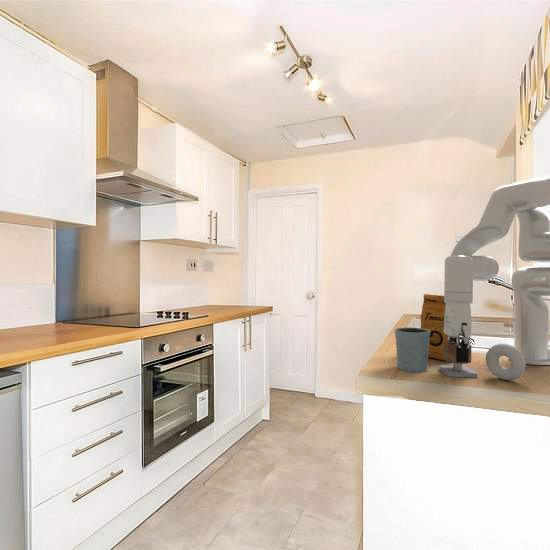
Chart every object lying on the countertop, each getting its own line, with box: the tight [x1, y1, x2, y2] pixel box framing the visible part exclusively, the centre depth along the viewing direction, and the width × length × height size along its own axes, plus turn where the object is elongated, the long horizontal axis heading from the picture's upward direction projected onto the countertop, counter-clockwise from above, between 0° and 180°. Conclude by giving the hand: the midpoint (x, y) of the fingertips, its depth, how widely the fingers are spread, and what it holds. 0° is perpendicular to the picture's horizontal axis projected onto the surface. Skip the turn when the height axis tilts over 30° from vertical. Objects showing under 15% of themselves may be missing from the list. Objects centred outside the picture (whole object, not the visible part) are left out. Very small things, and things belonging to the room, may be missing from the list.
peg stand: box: [438, 363, 479, 378], centre depth 112 cm, size 8×8×8 cm
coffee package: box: [420, 293, 461, 362], centre depth 132 cm, size 10×12×22 cm
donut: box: [485, 343, 527, 381], centre depth 106 cm, size 10×4×10 cm, turn 37°
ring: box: [443, 341, 472, 365], centre depth 112 cm, size 7×7×5 cm
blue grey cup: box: [394, 326, 430, 373], centre depth 117 cm, size 10×10×12 cm
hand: (457, 358), depth 112 cm, fingers closed on ring, 6 cm apart
